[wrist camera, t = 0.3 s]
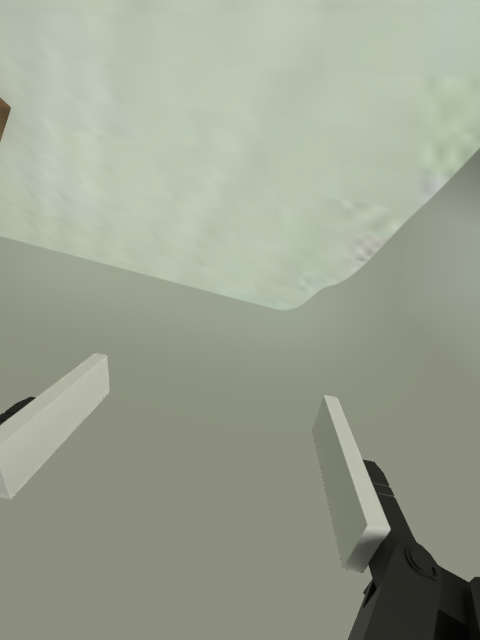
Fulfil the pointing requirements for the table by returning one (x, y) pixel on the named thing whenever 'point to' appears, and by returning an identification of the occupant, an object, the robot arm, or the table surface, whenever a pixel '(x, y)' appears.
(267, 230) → the table surface
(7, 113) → the letter block
